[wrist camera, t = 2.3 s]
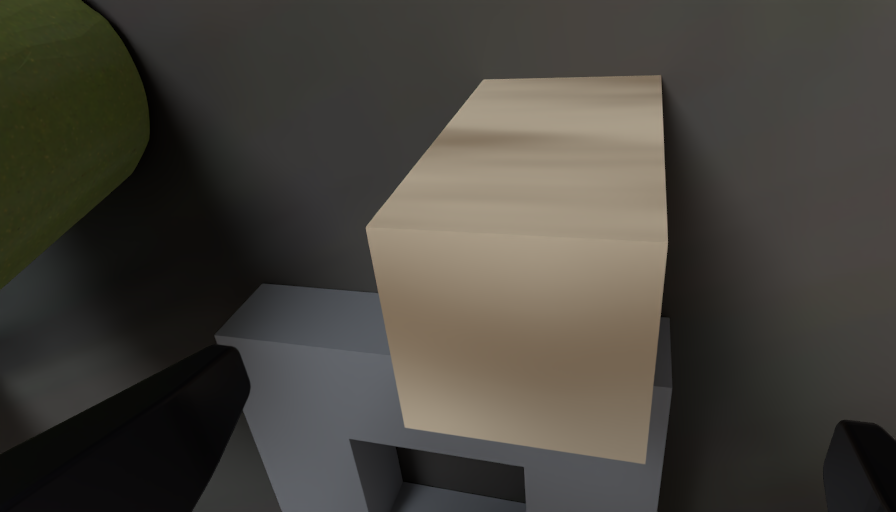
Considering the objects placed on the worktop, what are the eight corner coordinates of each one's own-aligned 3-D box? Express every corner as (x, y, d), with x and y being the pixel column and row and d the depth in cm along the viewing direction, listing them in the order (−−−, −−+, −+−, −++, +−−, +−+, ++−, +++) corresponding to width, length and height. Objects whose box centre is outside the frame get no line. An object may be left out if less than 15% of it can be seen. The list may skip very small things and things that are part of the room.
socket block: (639, 584, 25) (638, 660, 23) (337, 521, 29) (308, 581, 27) (669, 317, 18) (672, 388, 15) (262, 283, 22) (213, 335, 19)
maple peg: (648, 234, 17) (645, 464, 10) (493, 226, 18) (404, 427, 12) (661, 75, 14) (668, 242, 8) (483, 79, 16) (365, 226, 9)
